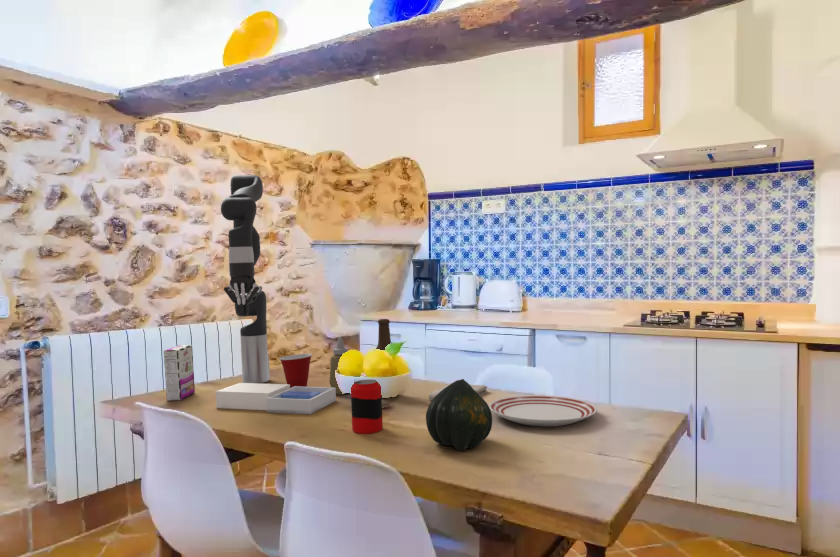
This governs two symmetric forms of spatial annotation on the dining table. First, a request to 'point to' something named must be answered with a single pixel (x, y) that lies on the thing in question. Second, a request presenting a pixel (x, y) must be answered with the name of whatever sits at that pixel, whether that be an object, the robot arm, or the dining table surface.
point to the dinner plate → (542, 410)
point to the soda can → (366, 407)
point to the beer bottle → (383, 334)
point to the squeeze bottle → (336, 364)
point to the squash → (459, 416)
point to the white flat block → (248, 395)
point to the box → (301, 401)
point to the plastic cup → (296, 369)
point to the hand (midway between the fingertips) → (244, 316)
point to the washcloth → (478, 388)
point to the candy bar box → (179, 372)
